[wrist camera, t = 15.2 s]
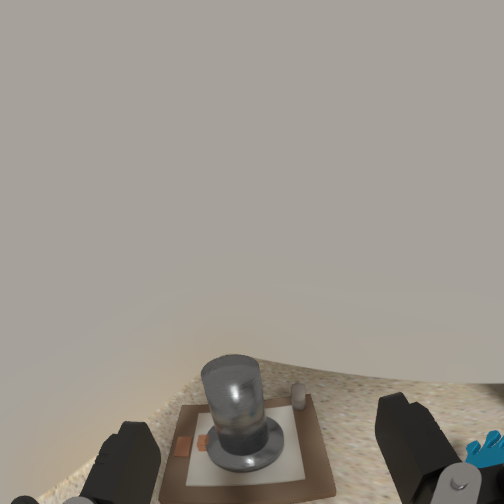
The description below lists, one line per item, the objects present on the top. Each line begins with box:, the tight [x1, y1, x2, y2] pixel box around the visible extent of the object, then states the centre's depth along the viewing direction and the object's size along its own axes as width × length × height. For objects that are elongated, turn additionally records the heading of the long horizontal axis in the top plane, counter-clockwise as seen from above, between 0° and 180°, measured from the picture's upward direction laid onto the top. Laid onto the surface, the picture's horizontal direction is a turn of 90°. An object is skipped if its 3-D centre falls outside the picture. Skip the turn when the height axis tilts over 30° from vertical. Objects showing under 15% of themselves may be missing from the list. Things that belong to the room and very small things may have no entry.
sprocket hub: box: [197, 355, 284, 473], centre depth 26 cm, size 9×8×10 cm
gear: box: [465, 430, 504, 468], centre depth 13 cm, size 11×6×10 cm
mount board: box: [158, 383, 336, 504], centre depth 27 cm, size 16×15×4 cm
